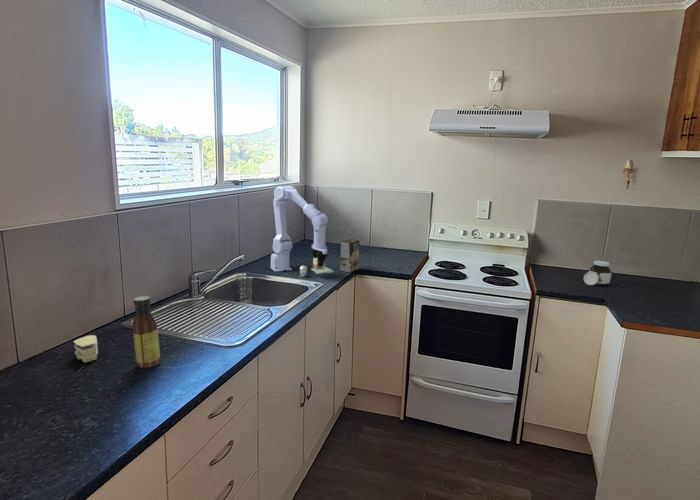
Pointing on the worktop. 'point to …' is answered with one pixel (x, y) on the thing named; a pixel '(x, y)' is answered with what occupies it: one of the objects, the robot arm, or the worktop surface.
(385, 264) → the worktop surface
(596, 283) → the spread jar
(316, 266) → the maple block
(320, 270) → the sage tile
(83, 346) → the cream layered block
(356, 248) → the coffee box
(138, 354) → the sauce bottle
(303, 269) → the clear glass cylinder
